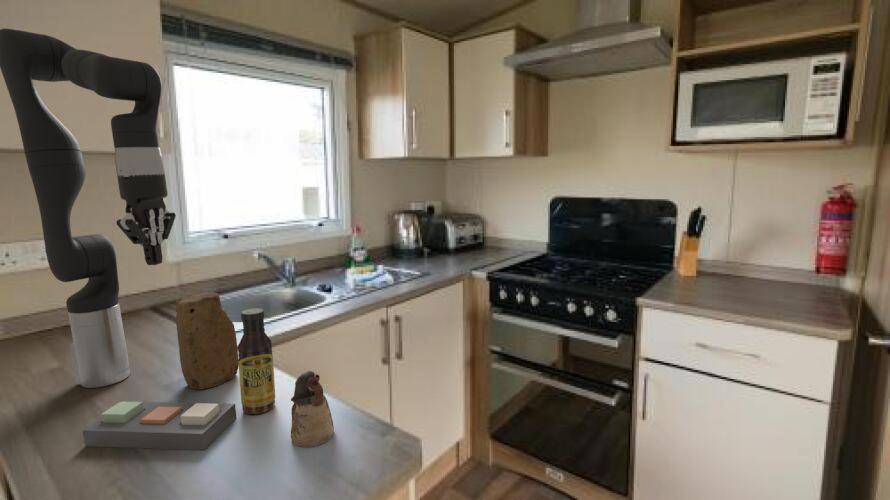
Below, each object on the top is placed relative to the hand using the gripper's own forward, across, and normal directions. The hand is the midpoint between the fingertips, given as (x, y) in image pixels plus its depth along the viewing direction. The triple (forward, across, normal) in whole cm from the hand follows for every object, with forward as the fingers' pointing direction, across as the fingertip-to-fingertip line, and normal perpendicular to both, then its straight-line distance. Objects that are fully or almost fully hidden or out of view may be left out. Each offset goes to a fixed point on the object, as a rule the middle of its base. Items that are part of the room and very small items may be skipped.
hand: (154, 264), depth 90 cm
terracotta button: (+27, +10, +5) cm, 29 cm away
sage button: (+27, +10, -3) cm, 28 cm away
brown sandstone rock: (+29, -10, +2) cm, 31 cm away
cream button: (+26, +10, +12) cm, 31 cm away
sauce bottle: (+29, +1, +19) cm, 35 cm away
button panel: (+29, +10, +5) cm, 31 cm away
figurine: (+29, +10, +33) cm, 45 cm away
